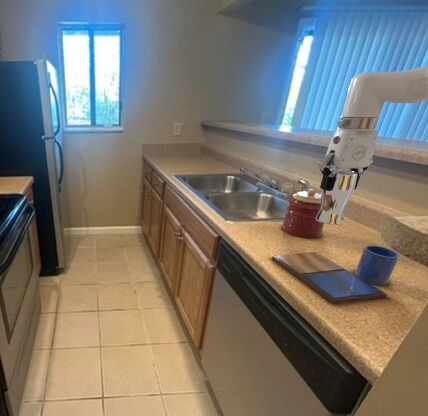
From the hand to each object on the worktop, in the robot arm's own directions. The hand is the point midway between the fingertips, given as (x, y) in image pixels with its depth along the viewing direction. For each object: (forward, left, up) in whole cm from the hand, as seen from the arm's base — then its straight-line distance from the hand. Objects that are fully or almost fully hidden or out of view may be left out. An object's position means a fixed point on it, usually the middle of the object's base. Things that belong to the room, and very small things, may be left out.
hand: (337, 188), depth 78 cm
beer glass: (0, 0, -10) cm, 10 cm away
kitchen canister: (-15, -22, -26) cm, 37 cm away
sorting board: (+3, +6, -25) cm, 26 cm away
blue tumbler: (-10, +9, -25) cm, 29 cm away
